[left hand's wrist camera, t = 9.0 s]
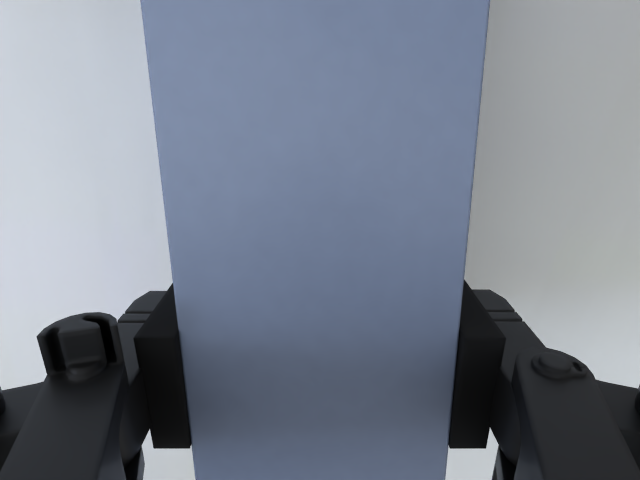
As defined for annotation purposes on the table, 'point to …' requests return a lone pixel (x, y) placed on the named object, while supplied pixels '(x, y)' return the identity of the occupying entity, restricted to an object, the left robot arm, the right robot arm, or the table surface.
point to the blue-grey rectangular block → (317, 226)
